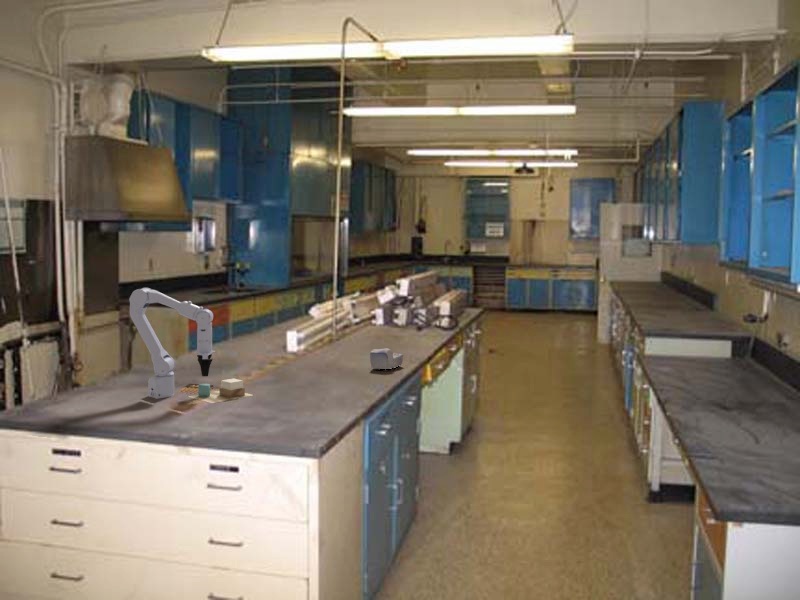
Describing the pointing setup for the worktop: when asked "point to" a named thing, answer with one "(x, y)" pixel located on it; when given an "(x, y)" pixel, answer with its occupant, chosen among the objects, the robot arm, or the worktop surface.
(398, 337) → the worktop surface
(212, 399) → the birch board
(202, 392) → the teal piece
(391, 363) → the grey stepped block
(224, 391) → the tower base
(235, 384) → the tower top
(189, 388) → the ammunition clip
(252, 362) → the worktop surface
